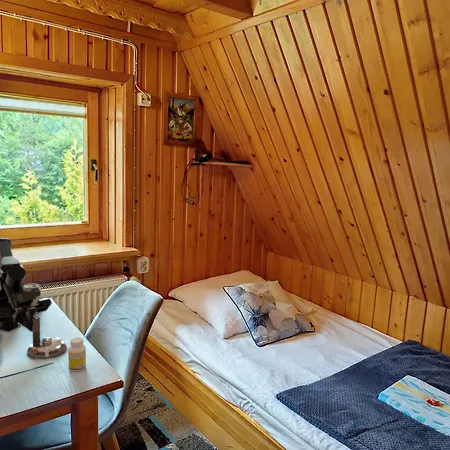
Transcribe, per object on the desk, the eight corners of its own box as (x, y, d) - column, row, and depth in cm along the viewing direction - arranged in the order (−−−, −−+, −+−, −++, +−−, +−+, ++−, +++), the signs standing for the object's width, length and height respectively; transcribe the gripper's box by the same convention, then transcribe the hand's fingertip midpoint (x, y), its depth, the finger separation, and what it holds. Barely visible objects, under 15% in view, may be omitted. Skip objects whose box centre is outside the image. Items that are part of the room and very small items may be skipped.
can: (44, 312, 185) (43, 285, 183) (26, 316, 180) (26, 288, 178) (37, 307, 190) (36, 281, 188) (19, 311, 185) (18, 284, 183)
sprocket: (23, 351, 147) (22, 319, 145) (45, 339, 157) (44, 309, 155) (49, 357, 143) (48, 324, 142) (70, 344, 154) (70, 314, 152)
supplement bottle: (73, 363, 143) (72, 335, 141) (88, 364, 142) (88, 337, 140) (65, 371, 137) (65, 342, 136) (81, 373, 137) (81, 344, 135)
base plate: (18, 354, 146) (18, 344, 146) (45, 340, 158) (44, 330, 158) (49, 362, 142) (49, 351, 142) (74, 346, 154) (74, 336, 154)
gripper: (-4, 286, 142) (13, 327, 137) (48, 276, 157) (65, 312, 152) (-14, 303, 148) (2, 343, 143) (38, 292, 163) (54, 327, 158)
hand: (32, 331), depth 149 cm, fingers closed
